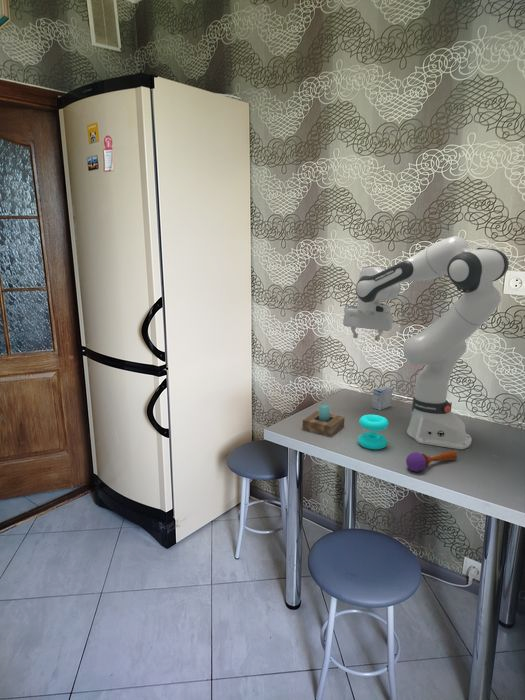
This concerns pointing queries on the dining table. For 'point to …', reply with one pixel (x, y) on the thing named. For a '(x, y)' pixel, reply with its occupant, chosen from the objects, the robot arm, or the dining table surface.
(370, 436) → the donuts
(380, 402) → the medicine box
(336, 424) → the brown square frame block
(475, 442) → the dining table surface
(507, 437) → the dining table surface
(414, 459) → the kendama
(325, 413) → the teal rounded cylinder
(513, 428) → the dining table surface
